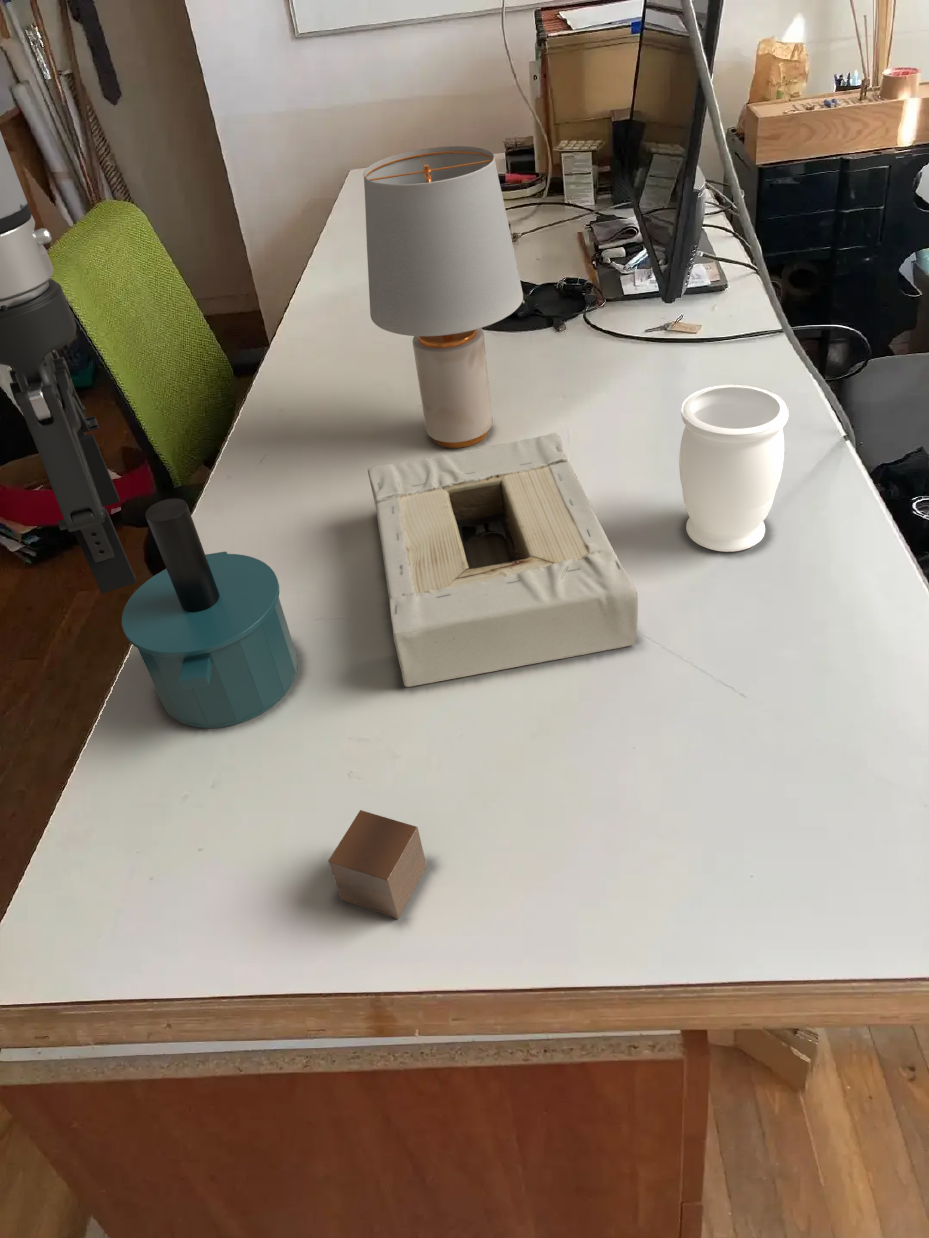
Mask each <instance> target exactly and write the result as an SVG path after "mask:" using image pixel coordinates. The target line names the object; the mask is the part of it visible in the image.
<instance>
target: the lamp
mask: <svg viewBox="0 0 929 1238" xmlns="http://www.w3.org/2000/svg"><path fill="white" fill-rule="evenodd" d="M497 168H498V167H497V163H496V157H495V154H494V153H493V152H492V151H490V150H488V149H485V148H481V147H476V146H467V145H466V146H465V145H461V146H459V145H455V146H453V145H451V146H449V145H448V146H436V147H428V148H421V149H416V150H411V151H406V152H402V153H398V154H394V155H391V156H388V157H385V158H382V159H380V160H377V161H376V162H374V163H372V164H370V165H369V166H368V167H366V168H365V169H364V171H363V174H362V176H363V185H364V186H363V187H364V207H365V230H366V231H365V232H366V233H365V234H366V235H365V236H366V255H367V256H366V257H367V275H368V277H367V278H368V296H369V314H370V319H371V321H372V322H373V324H375V326H377V327H378V328H380V329H382V330H383V331H387V332H389V333H391V334H392V333H393V334H396V335H401V336H402V335H403V336H410V337H412V341H411V342H412V348H413V355H414V361H415V369H416V375H417V382H418V386H419V392H420V401H421V407H422V413H423V419H424V426H425V432H426V434H427V435H428V436H429V437H430V438H432V439H433V442H434V443H436V444H437V445H438V446H441V447H444V448H449V449H460V448H466V447H470V446H474V445H477V444H478V443H480V442H481V441H483V440H484V439H485V438H486V437H487V436H488V434H489V430H491V427H492V426H493V411H492V402H491V400H492V399H491V391H490V390H491V389H490V380H489V372H488V371H489V370H488V363H487V351H486V343H485V334H484V329H483V328H485V327H489V326H491V325H493V324H495V323H497V322H501V321H502V320H504V319H506V318H508V317H509V316H511V315H512V314H513V313H514V312H516V311H517V310H518V309H519V308H520V306H521V305H522V303H523V300H524V293H523V287H522V282H521V277H520V274H519V268H518V264H517V258H516V254H515V253H516V252H515V249H514V243H513V239H512V235H511V234H512V233H511V230H510V224H509V220H508V215H507V211H506V206H505V202H504V197H503V191H502V187H501V183H500V177H499V173H498V169H497Z"/></svg>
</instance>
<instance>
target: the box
mask: <svg viewBox="0 0 929 1238" xmlns="http://www.w3.org/2000/svg"><path fill="white" fill-rule="evenodd" d="M367 474H368V479H369V483H370V488H371V492H372V497H373V503H374V506H375V512H376V518H377V525H378V532H379V537H380V538H379V539H380V544H381V551H382V558H383V566H384V573H385V579H386V580H385V581H386V587H387V588H386V589H387V593H388V601H389V611H390V612H389V613H390V620H391V625H392V626H391V627H392V633H393V634H392V635H393V636H392V638H393V641H394V645H395V649H396V654H397V659H398V663H399V667H400V671H401V672H400V673H401V677H402V682H403V686H404V687H407V688H409V687H415V686H421V685H427V684H432V683H437V682H442V681H448V680H453V679H459V678H464V677H470V676H475V675H480V674H485V673H491V672H496V671H501V670H508V669H512V668H518V667H524V666H529V665H535V664H540V663H545V662H550V661H556V660H561V659H567V658H572V657H578V656H582V655H589V654H594V653H599V652H605V651H610V650H615V649H616V650H617V649H620V648H626V647H630V646H633V645H635V644H636V642H637V641H636V640H637V637H638V636H637V635H638V621H639V619H638V616H639V614H638V613H639V608H638V607H639V599H638V598H639V597H638V591H637V588H636V586H635V584H634V583H633V581H632V579H631V577H630V575H629V574H628V572H627V571H626V570H625V569H624V567H623V565H622V563H620V560H619V558H618V557H617V554H616V553H615V551H614V548H613V547H612V544H611V542H610V540H609V539H608V536H607V535H606V533H605V531H604V529H603V526H602V524H601V523H600V520H599V518H598V517H597V515H596V513H595V510H594V509H593V506H592V505H591V502H590V501H589V499H588V497H587V494H586V493H585V491H584V488H583V486H582V484H581V482H580V481H579V479H578V476H577V475H576V472H575V471H574V469H573V466H572V465H571V462H570V461H569V458H568V457H567V454H566V451H565V450H564V449H563V442H562V438H561V436H560V434H559V433H558V432H552V433H549V434H546V435H541V436H540V435H539V436H536V437H533V438H528V439H527V438H526V439H522V440H517V441H512V442H506V443H500V444H495V445H491V446H490V445H489V446H485V447H479V448H474V449H469V450H463V451H462V450H461V451H458V452H452V453H445V454H440V455H435V456H429V457H425V458H418V459H414V460H408V461H403V462H396V463H391V464H390V463H389V464H381V465H376V466H375V465H374V466H371V467H369V468H368V469H367Z"/></svg>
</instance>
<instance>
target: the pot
mask: <svg viewBox="0 0 929 1238" xmlns="http://www.w3.org/2000/svg"><path fill="white" fill-rule="evenodd" d="M215 554H228V552H227V551H226V550H225V551H220V552H214V553H213V552H212V553H207V554H206V553H205V555H206V556H207V555H215ZM137 651H138V653H139V655H140V656H141V659H142V661H143V664H144V666H145V668H146V670H147V672H148V675H149V677H150V679H151V681H152V684H153V686H154V688H155V690H156V693H157V695H158V697H159V700H160V701H161V704H162V706H163V708H164V710H165V712H167V713H168V715H169V716H170V717H172V718H173V719H174V720H176V721H177V722H179V723H181V724H183V725H186V726H189V727H194V728H200V729H201V728H202V729H217V728H225V727H230V726H235V725H238V724H242V723H244V722H247V721H250V720H252V719H253V718H256V717H258V716H260V715H262V714H264V713H265V712H267V711H268V710H270V709H271V708H272V707H274V706H275V705H276V704H277V703H279V701H280V700H282V699H283V697H285V695H286V694H287V693H288V692H289V690H290V689H291V687H292V686H293V684H294V683H295V680H296V677H297V672H298V660H297V658H298V657H297V655H298V654H297V652H296V648H295V646H294V642H293V639H292V635H291V633H290V629H289V626H288V624H287V619H286V616H285V613H284V610H283V606H282V603H281V600H280V597H278V601H277V603H276V606H275V608H274V609H273V611H272V613H271V614H270V615H269V616H268V618H267V619H266V620H265V621H264V622H263V623H262V624H261V625H260V626H259V627H258V628H256V629H255V630H254V631H253V632H251V633H250V634H248V635H247V636H245V637H244V638H242V639H240V640H238V641H237V642H235V643H233V644H230V645H228V646H226V647H224V648H221V649H218V650H215V651H212V652H209V653H205V654H201V655H196V656H189V657H161V656H155V655H151V654H148V653H145V652H143V651H141V650H139V649H137Z"/></svg>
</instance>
